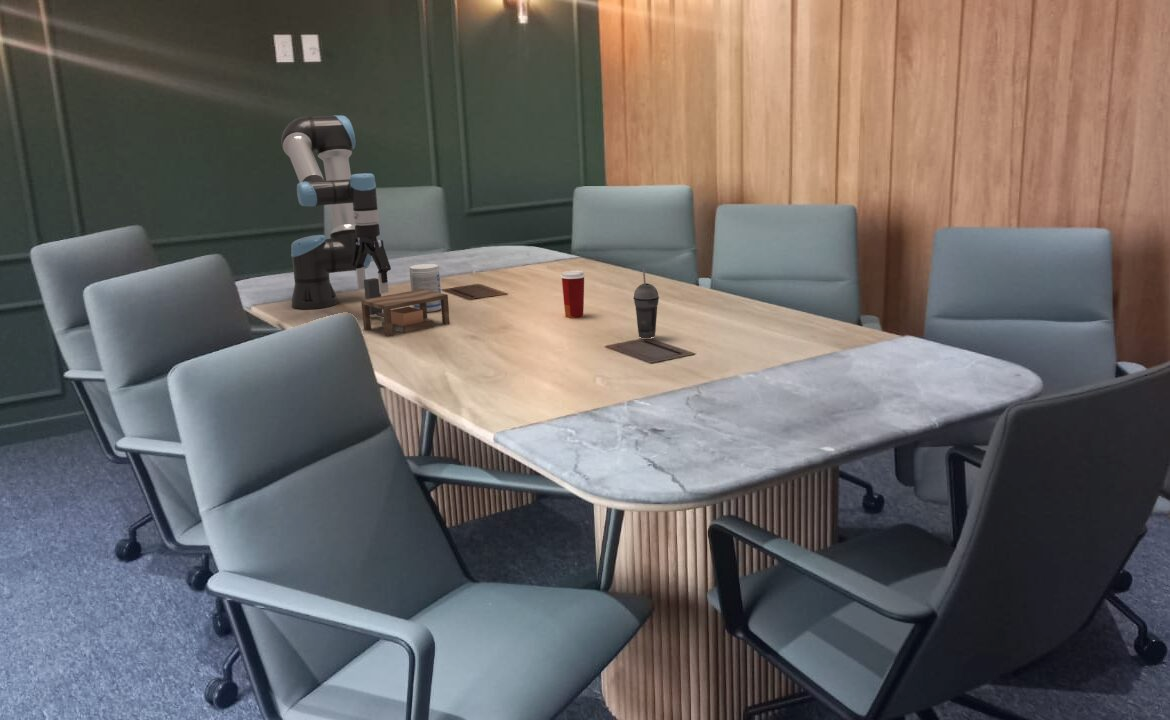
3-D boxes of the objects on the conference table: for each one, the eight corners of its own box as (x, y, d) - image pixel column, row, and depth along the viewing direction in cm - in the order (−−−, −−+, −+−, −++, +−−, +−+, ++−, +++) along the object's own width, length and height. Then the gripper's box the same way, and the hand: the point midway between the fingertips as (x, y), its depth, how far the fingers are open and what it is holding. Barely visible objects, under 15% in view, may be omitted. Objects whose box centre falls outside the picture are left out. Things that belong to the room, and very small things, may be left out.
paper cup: (590, 314, 320) (589, 270, 316) (580, 319, 313) (578, 275, 309) (568, 313, 323) (566, 269, 319) (557, 318, 316) (555, 273, 313)
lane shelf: (363, 329, 310) (361, 300, 307) (424, 317, 324) (422, 289, 321) (388, 336, 299) (385, 306, 297) (449, 323, 314) (447, 294, 311)
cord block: (363, 318, 324) (359, 280, 321) (382, 314, 329) (378, 277, 325) (404, 329, 306) (401, 290, 303) (423, 325, 311) (420, 286, 308)
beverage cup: (642, 341, 283) (641, 271, 278) (629, 336, 290) (627, 267, 284) (664, 338, 287) (663, 268, 281) (651, 333, 293) (650, 264, 288)
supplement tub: (446, 310, 333) (443, 266, 329) (420, 314, 328) (417, 269, 324) (434, 305, 341) (431, 262, 337) (408, 309, 336) (404, 265, 332)
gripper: (336, 222, 324) (343, 288, 329) (376, 227, 306) (383, 296, 311) (357, 220, 329) (363, 284, 334) (398, 224, 311) (404, 292, 316)
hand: (372, 290), depth 323 cm, fingers open, 13 cm apart
